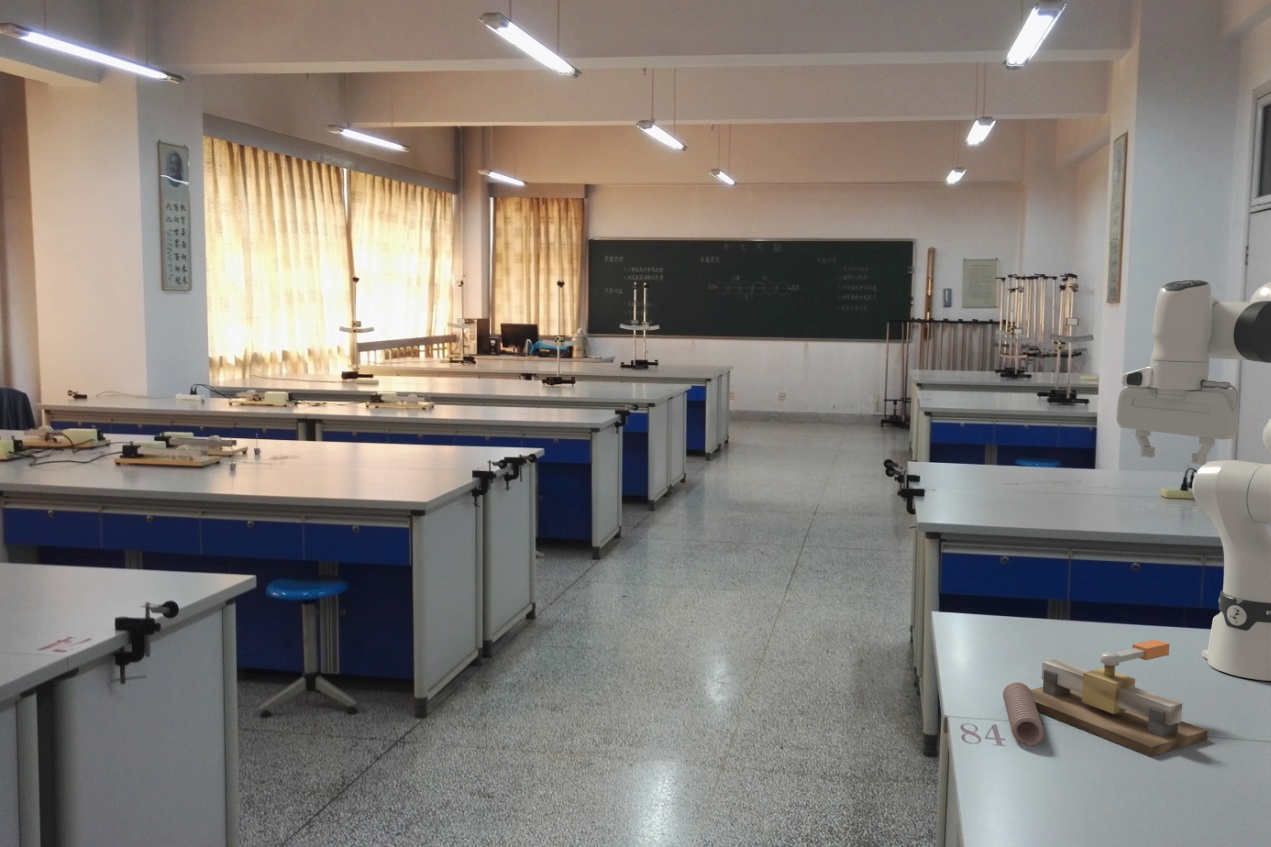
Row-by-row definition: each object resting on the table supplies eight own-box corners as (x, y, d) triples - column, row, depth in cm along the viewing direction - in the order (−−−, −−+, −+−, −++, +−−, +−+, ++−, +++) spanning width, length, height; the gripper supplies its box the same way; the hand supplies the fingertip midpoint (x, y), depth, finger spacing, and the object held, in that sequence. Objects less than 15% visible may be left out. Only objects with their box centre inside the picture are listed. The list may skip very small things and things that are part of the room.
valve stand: (1068, 688, 196) (1071, 637, 195) (1207, 739, 174) (1211, 682, 173) (1013, 702, 189) (1016, 649, 188) (1150, 756, 167) (1154, 696, 166)
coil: (1046, 722, 169) (1033, 683, 186) (1014, 716, 170) (1004, 678, 188) (1041, 750, 170) (1029, 709, 187) (1010, 744, 171) (1000, 704, 188)
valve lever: (1154, 650, 188) (1154, 639, 188) (1169, 655, 186) (1169, 643, 186) (1096, 663, 181) (1097, 651, 181) (1111, 668, 179) (1112, 656, 178)
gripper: (1250, 382, 177) (1243, 467, 178) (1136, 374, 194) (1131, 452, 196) (1226, 382, 174) (1220, 470, 175) (1113, 374, 191) (1108, 454, 193)
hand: (1172, 460), depth 186 cm, fingers open, 8 cm apart
